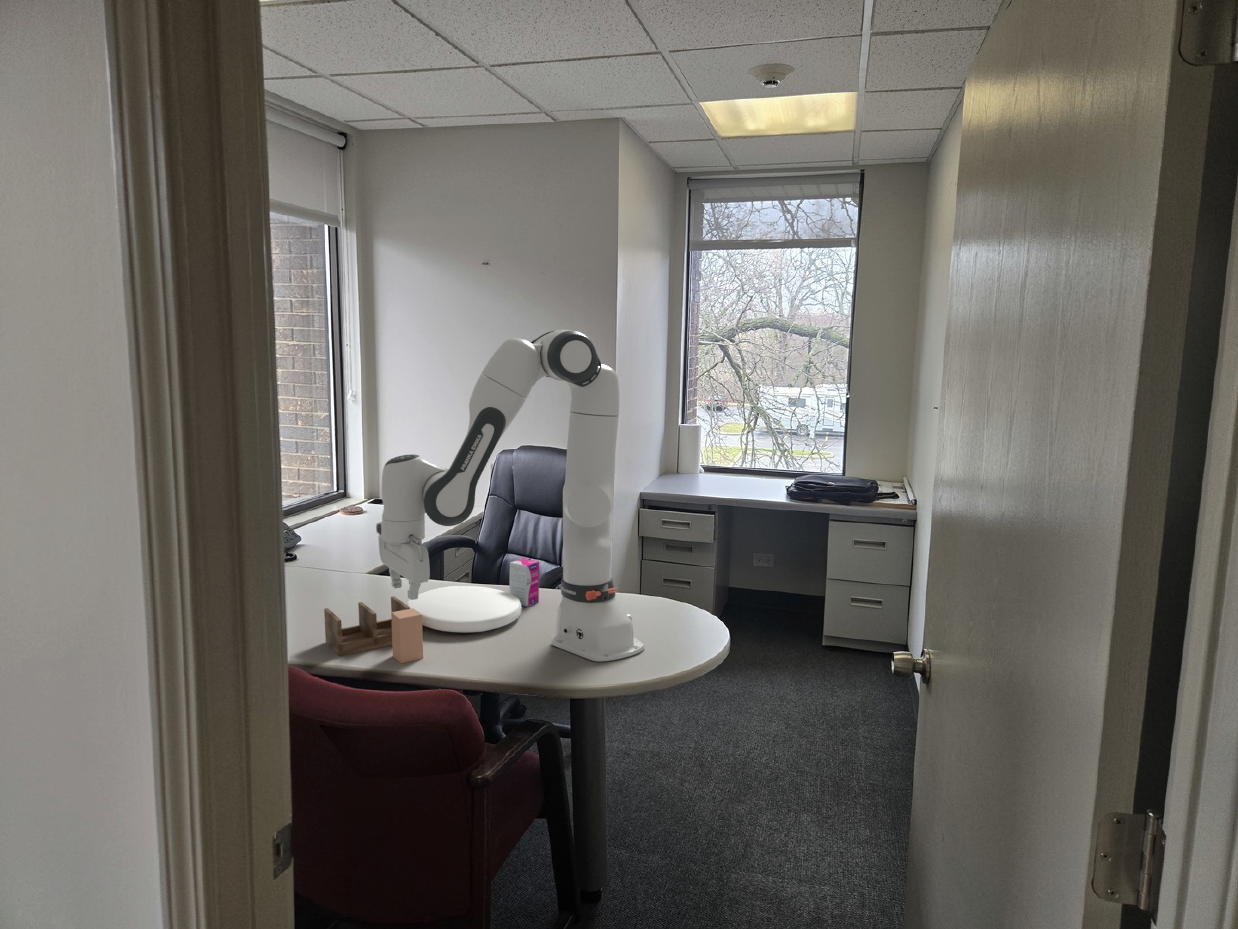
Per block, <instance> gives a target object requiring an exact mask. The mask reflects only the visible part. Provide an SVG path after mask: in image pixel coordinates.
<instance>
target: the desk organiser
mask: <svg viewBox="0 0 1238 929" xmlns="http://www.w3.org/2000/svg"><path fill="white" fill-rule="evenodd" d="M357 603H358V606H357V607H358V625H353V626H349V627H344V628H343V626H342V620H341V619H340V618H339V616H337V615H336V614H335V613H334V612H333V611H332V610H331V609H329V608H328V607H327V608H323V612H324V613H323V614H324V631H325V633H324V634H325V643H326V644H327V645H328V644H329V645H328V647H330V648H331V649H332V650H333V651H334V653H335V654H337V655H338V656H339V657H340V656H341V657H342V656H345V655H349V654H355V652H356V653H360V652H364V651H363V650H365V651H369V650H373V649H378V648H383V647H382V646H384V647H388V646H392V619H391V618H389V619H384V620H380V621H379V620H378V621H377V618H378V616H377V613H376V612H375V611H374V610H373V609H371V608H370V607H369V606H367V605H366V604H365V603H364V602H362V601H360V602H357ZM390 605H391V606H390V609H391V612H396V611H401V610H406V609H410V607H409V606H407V603H406V604H405V603H404V602H403V601H402V600H400V599H399V598H397V597H396V596H394V595H392V596H390ZM391 612H390V613H391ZM387 645H388V646H387ZM359 651H360V652H359Z"/></svg>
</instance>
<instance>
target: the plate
mask: <svg viewBox="0 0 1238 929" xmlns="http://www.w3.org/2000/svg"><path fill="white" fill-rule="evenodd" d="M406 605H407V606H409V607H410V609H412V608H414V609H415V610H416V611H418V612H419V613H421V614H422V626H424V627H427V628H430V629H432V630H437V631H441V632H449V633H483V632H486V631H491V630H494V629H498V628H501V627H505V626H506V625H509V624H511V623H512V622H514V621H516V620H517V619H518V618H519V617H520V615H521V613H522V607H521V603H520V600H519V599H518V598H517V597H515V596H513V595H512V594H510V593H509V592H506V591H504V590H501V589H498V588H497V589H496V588H493V587H492V588H491V587H487V586H486V587H485V586H473V585H448V586H445V587H438V588H434V589H430V590H429V589H428V590H427V591H424V592H421V593H418V599H415V600H411V599H409V600H408V601H407V603H406Z"/></svg>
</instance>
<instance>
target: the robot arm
mask: <svg viewBox="0 0 1238 929" xmlns="http://www.w3.org/2000/svg"><path fill="white" fill-rule="evenodd" d="M544 377H546V378H551V379H553V380H556V381H561V382H562V381H563V382H566V383H567V384H568V386H569V390H570V395H571V396H570V397H571V400H570V410H569V420H568V421H569V422H568V432H567V444H566V445H567V446H566V462H565V475H564V476H565V478H564V484H563V488H562V544H563V545H562V550H563V552H562V568H563V569H562V575H563V576H562V578H561V581H560V589H561V590H560V594H561V596H562V599H561V601H560V603H559V605H558V608H557V612H556V613H557V614H556V624H555V635H554V637H552V639H551V642H550V645H551V646H553V647H557V648H559V649H561V650H564V651H567V652H569V653H572V654H575V655H577V656H580V657H582V658H585V659H588V660H589V661H591V662H592V661H593V662H609V661H616V660H620V659H624V658H629V657H631V656H634V655H637V654H639V653H641V652H642V651H643V650H644V649H645V645H644V643H643V642H641V641H640V640H639V639H638V638H636V637H635V636H634V626H633V619H632V616H631V614H630V613H626V611H625V610H624V608H623V607H622V605H621V604H620V603H619V601H618V600H617V598H616V593H618V591H617V589H618V587H617V586H616V587H615V585H614V582H613V579H612V577H611V576H612V575H611V574H612V573H611V569H612V563H611V562H612V560H611V558H612V554H611V553H612V541H611V518H610V517H611V513H612V510H613V507H614V496H615V495H614V493H615V478H616V477H615V476H616V475H615V474H616V453H617V452H616V450H617V438H618V426H619V415H620V414H619V413H620V386H619V385H620V384H619V377H618V373H617V372H616V371H615V370H614V369H613V368H612V367H610V366H608V365H606V364H603V363H601V360H600V357H599V355H598V353H597V350H596V347H595V345H594V343H593V341H592V340H591V339H590V338H589V337H588V336H587V335H586V334H584V333H582V332H580V331H578V330H577V331H576V330H570V329H557V330H551V331H548V332H546V333H543V334H541V335H539V336H538V337H537V338H535V339H533V340H531V341H529V340H526V339H525V338H519V337H510V338H507V339H506V340H504V341H503V343H501V345H499V347H498V348H497V350H496V351H495V352H494V353H493V354H492V356H491V358H490V359H489V360H488V362H487V364H486V365H485V366H484V368H483V370H482V372H481V374H480V376H478V379H477V381H476V383H475V384H474V385H475V386H474V387H473V390H472V393H471V397H470V399H469V403H468V408H469V424H468V429H467V433H466V435H465V438H464V439H463V441H462V443H461V446H459V447H460V448H459V449H458V451H457V453H456V454H455V457H454V459H453V461H452V462H451V465H450V466H449V468H445V467H442V466H439V465H437V464H436V465H435V464H433V463H431V462H429V461H427V460H426V459H424V458H422V456H420V455H418V454H404V455H399V456H395V457H393V458H390V459H388V460H387V461H386V463H385V464H384V466H383V468H382V476H381V500H382V504H383V510H382V515H381V521H380V522H377V523H376V524H375V531H376V533H377V534H378V538H377V539H378V550H379V551H378V552H379V558H380V559H379V560H380V561H381V563H382V564H383V565H385V566H386V567H387V568H388V571H389V576H390V579H391V586H392V588H394V589H401V588H402V586H403V585H402V581H403V580H402V579H401V577H403V578H404V579H406V580H407V581H408V585H409V588H408V590H407V598H408V599H409V600H410V599H411V600H415V599H418V595H419V590H420V588H421V584H423V583H428V582H429V580H430V577H431V573H430V572H431V571H430V570H431V569H430V557H429V556H430V555H429V551H428V548H427V547H426V545H424V544H423V542H422V540H424V539H425V538H426V532H425V531H426V529H425V528H426V525H425V524H426V520H425V519H426V516H425V514H426V515H427V517H428V518H429V519H430V520H431V521H432V522H434V523H435V524H437V525H439V526H442V527H443V526H444V527H453V526H458V525H460V524H462V523H464V522H465V521H466V520H468V518H469V517H470V516H471V514H472V512H474V511H473V510H474V507H475V500H476V489H477V485H478V482H479V480H480V478H481V476H482V474H483V471H484V470H485V468H486V466H487V464H488V462H489V460H490V458H491V456H492V454H493V452H494V450H495V448H496V446H497V445H498V442H499V441H500V440H501V438H502V436H503V435H504V433H505V432H506V431H507V429H508V428H509V427H510V425H511V424H512V422H513V421H514V419H515V418H516V416H517V415H518V413H519V412H520V411H521V408H522V407H523V405H524V404H525V402H526V399H528V397H529V394H530V393H531V390H532V389H533V387H534V386H535V385H536V383H537V382H538V381H539V380H540V379H542V378H544Z"/></svg>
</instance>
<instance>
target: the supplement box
mask: <svg viewBox="0 0 1238 929" xmlns="http://www.w3.org/2000/svg"><path fill="white" fill-rule="evenodd" d="M508 589H509V591H508V593H510V594H512V595H513V596H515V597H517V598H518V599H519V600H520V603H521V608H523V609H526V608H530V607H531V606H533V605H536V604H538V603H539V600H540V595H539V594H540V561H538V560H533V559H527V558H524V557H523V558H520V559H517V560H514V561H510V562H509V588H508Z"/></svg>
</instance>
